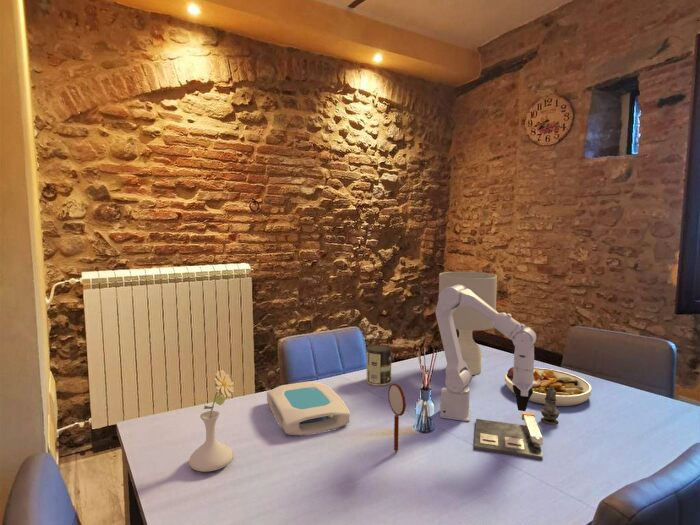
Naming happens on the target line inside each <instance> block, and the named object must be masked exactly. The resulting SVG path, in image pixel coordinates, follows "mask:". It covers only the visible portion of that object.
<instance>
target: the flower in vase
mask: <svg viewBox="0 0 700 525" xmlns="http://www.w3.org/2000/svg"><path fill="white" fill-rule="evenodd" d="M214 375H215V376H213V383H214V387H215V391H216V392H215V393H214V394H215V395H214V398H213V403H212V405H211V406H208V405H204V407H203V409H204V410H207V409H208V410H207V411H205V412H202V413H201V414H200V415H199V418H200V419H201V420H202V421H203V423H204V428H205V436H206V437H205V441H204V442H203V444H202V445H200V446H199V447H198V448H196V449H195V450H194V451H193V452H192V454H190V457H189V459H188V464H189V467H191V469H192V470H194V471H197V472H200V473H201V472H203V473H204V472H206V473H207V472H213V471H218V470H221V469H222V468H225V467H226V466H227V465H229V464H230V463H231V461H232V460H233V458H234V453H233V450H232V449H231V448H230V447H229V446H228V445H226V444H224V443H223V442H219V441H218V440H217V439H216V424H217V423H216V422H217V420H218V419H219V417H220V414H221V413H220V412H219V411H217V410H213V409H214V408H215V407H214V406H215V403H216V404H217V405H219V406H222V405H224V403H225V401H226V399H227V398H231V397H232V394H234V382H233V381H232V378H230V374H228V373H226V372H225V371H224V370H222V369H220V370H216V372H215V373H214ZM217 394H218V395H217Z"/></svg>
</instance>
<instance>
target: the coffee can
mask: <svg viewBox="0 0 700 525" xmlns="http://www.w3.org/2000/svg"><path fill="white" fill-rule="evenodd" d="M365 350H366V383H367V384H369V385H370V386H377V387H378V386H379V387H380V386H381V387H382V386H388V385H390V384H391V383H392V347H391V346H389V345H386V344H371V345H368V346H367V347H366V349H365Z"/></svg>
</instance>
